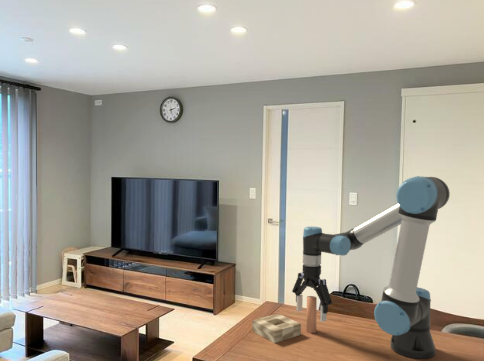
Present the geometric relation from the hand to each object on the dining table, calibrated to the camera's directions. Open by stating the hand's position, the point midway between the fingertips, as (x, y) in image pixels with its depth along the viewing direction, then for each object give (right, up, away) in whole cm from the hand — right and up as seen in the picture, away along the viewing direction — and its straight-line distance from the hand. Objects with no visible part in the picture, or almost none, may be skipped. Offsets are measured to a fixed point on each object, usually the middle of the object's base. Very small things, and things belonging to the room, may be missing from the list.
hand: (310, 315), depth 157 cm
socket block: (-14, -6, -2) cm, 16 cm away
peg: (0, -6, 0) cm, 6 cm away
